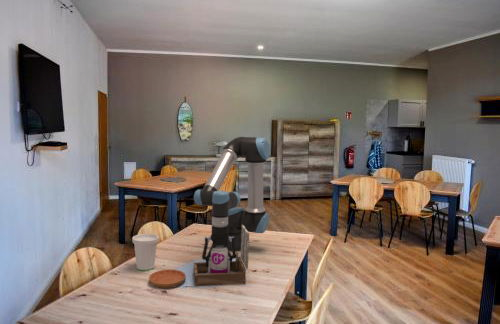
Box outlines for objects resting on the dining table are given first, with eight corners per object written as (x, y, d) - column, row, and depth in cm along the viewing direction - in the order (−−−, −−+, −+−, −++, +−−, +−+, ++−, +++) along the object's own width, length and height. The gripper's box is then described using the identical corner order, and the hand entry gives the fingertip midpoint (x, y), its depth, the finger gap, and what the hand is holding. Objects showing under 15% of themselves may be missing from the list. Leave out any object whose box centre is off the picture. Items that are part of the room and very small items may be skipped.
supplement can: (224, 282, 168) (225, 250, 167) (207, 280, 170) (208, 248, 169) (229, 275, 176) (230, 244, 175) (212, 273, 178) (213, 243, 177)
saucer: (167, 293, 156) (167, 286, 156) (141, 283, 165) (141, 277, 165) (193, 280, 170) (193, 274, 169) (167, 272, 178) (167, 266, 178)
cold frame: (193, 272, 178) (194, 225, 176) (241, 270, 183) (243, 224, 181) (194, 286, 163) (195, 234, 161) (247, 283, 168) (249, 233, 166)
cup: (163, 266, 186) (164, 235, 184) (147, 274, 174) (147, 242, 173) (144, 261, 191) (144, 232, 190) (126, 269, 180) (126, 238, 178)
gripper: (197, 227, 165) (196, 277, 167) (244, 227, 169) (242, 275, 171) (196, 223, 172) (195, 271, 175) (241, 222, 177) (239, 269, 179)
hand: (218, 273), depth 173 cm, fingers closed on supplement can, 8 cm apart
